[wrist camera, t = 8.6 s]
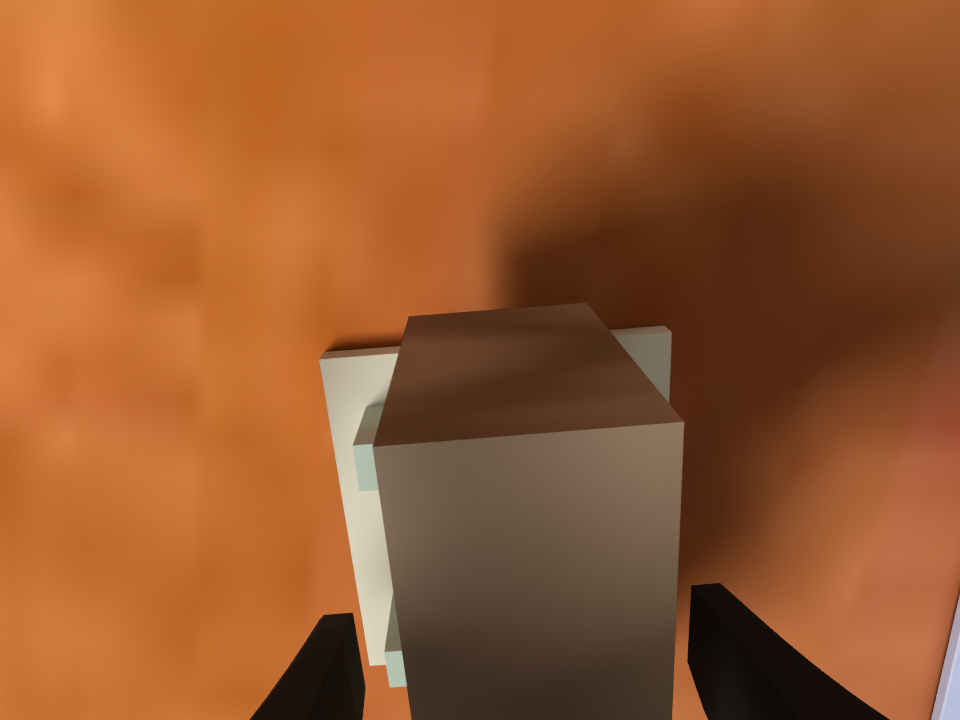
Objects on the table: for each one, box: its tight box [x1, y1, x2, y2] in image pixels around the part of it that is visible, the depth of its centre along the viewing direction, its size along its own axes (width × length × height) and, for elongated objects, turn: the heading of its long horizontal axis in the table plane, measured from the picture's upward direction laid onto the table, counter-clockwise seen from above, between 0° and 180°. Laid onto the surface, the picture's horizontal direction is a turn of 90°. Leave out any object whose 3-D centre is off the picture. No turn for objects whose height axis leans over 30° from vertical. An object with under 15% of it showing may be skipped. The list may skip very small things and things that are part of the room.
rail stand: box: [319, 326, 672, 687], centre depth 17 cm, size 9×10×3 cm
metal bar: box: [373, 303, 684, 720], centre depth 12 cm, size 4×13×6 cm, turn 4°
